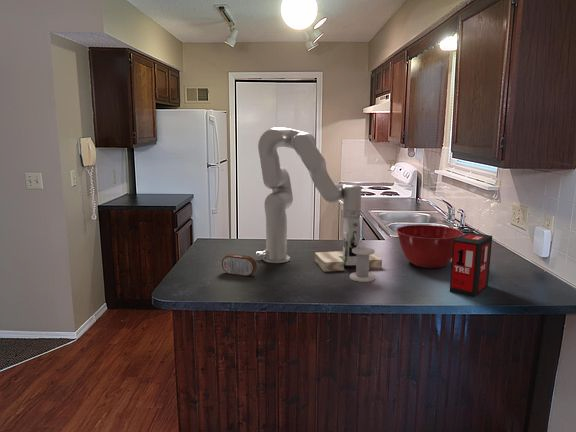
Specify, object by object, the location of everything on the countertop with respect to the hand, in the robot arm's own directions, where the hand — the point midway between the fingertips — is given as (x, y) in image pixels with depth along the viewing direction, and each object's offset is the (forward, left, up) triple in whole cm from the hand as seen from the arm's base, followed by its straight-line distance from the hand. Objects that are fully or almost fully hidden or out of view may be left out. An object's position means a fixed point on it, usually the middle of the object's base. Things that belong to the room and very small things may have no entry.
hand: (350, 253), depth 198 cm
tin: (-49, -2, -6) cm, 49 cm away
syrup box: (0, 0, -5) cm, 5 cm away
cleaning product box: (+36, -34, -6) cm, 50 cm away
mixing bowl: (+36, -1, -6) cm, 37 cm away
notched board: (0, +4, -6) cm, 7 cm away
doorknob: (0, -15, -6) cm, 16 cm away
